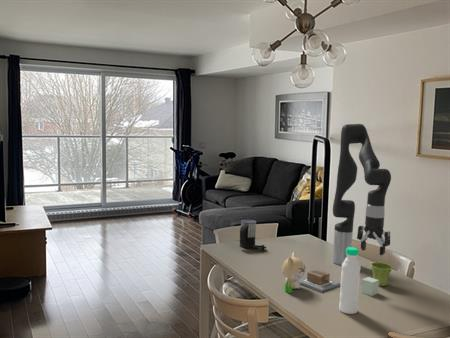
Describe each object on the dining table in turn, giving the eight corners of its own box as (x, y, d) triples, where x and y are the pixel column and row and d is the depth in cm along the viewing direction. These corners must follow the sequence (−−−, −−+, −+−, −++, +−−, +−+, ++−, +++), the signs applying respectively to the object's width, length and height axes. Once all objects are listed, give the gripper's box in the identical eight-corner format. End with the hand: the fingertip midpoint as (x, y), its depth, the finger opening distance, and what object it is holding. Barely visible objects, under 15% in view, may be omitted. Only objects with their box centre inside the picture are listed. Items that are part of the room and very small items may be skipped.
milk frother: (240, 243, 266) (241, 218, 264) (267, 245, 264) (268, 220, 262) (237, 250, 252) (238, 224, 250) (265, 252, 250) (267, 226, 248)
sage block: (367, 290, 198) (368, 276, 197) (378, 293, 194) (379, 280, 193) (361, 292, 194) (362, 279, 194) (371, 296, 191) (372, 282, 190)
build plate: (315, 276, 212) (315, 273, 212) (340, 285, 202) (340, 282, 202) (295, 282, 203) (296, 279, 203) (321, 292, 193) (321, 289, 193)
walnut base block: (316, 277, 207) (317, 269, 207) (329, 282, 202) (329, 273, 202) (307, 281, 203) (307, 272, 202) (319, 285, 197) (320, 276, 197)
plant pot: (390, 282, 209) (392, 264, 208) (391, 289, 200) (392, 270, 199) (369, 279, 212) (371, 261, 211) (369, 285, 203) (370, 267, 202)
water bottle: (336, 307, 178) (340, 245, 175) (353, 307, 178) (357, 245, 176) (342, 314, 171) (346, 250, 168) (360, 314, 172) (364, 251, 169)
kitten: (300, 295, 188) (302, 261, 187) (277, 291, 192) (278, 257, 190) (306, 284, 202) (308, 251, 201) (284, 280, 206) (286, 248, 204)
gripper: (395, 217, 188) (392, 255, 189) (364, 211, 198) (362, 247, 200) (385, 219, 183) (383, 258, 185) (355, 213, 193) (352, 250, 195)
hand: (372, 252), depth 192 cm, fingers open, 8 cm apart
